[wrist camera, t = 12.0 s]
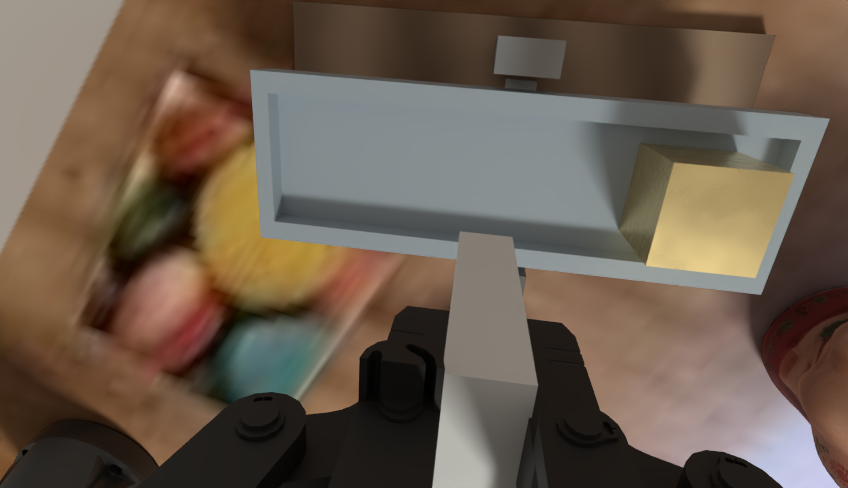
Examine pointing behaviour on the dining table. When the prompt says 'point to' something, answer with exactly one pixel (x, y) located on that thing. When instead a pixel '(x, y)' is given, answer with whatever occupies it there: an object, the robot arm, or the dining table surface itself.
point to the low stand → (532, 54)
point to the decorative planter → (815, 371)
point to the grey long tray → (491, 167)
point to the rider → (702, 209)
